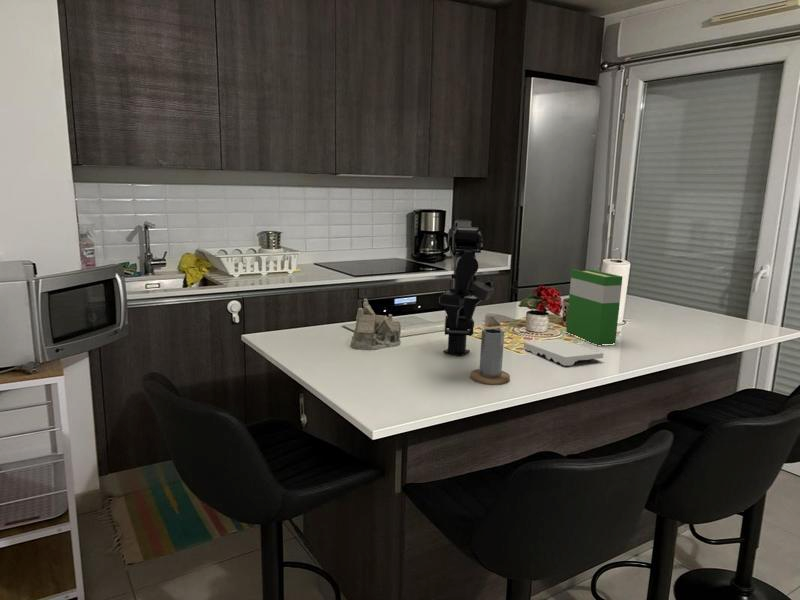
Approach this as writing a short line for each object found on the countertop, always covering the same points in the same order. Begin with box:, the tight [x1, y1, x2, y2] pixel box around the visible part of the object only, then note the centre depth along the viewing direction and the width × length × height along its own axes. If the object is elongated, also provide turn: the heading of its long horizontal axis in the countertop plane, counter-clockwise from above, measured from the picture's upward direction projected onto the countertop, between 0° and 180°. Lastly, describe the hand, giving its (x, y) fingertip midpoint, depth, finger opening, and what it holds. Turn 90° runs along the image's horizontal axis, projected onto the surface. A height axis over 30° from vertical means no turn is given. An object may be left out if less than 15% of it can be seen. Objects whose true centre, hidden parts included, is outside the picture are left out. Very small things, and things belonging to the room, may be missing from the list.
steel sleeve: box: [479, 328, 505, 378], centre depth 163 cm, size 6×6×12 cm
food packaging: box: [523, 338, 604, 367], centre depth 189 cm, size 15×3×20 cm
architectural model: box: [482, 314, 504, 330], centre depth 211 cm, size 3×7×7 cm, turn 120°
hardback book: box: [565, 268, 623, 345], centre depth 209 cm, size 18×7×24 cm, turn 21°
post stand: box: [469, 368, 511, 386], centre depth 164 cm, size 11×11×5 cm
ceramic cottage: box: [349, 298, 402, 351], centre depth 194 cm, size 16×16×15 cm
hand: (461, 324), depth 170 cm, fingers open, 9 cm apart
